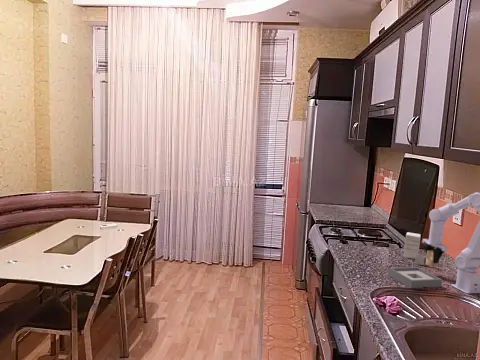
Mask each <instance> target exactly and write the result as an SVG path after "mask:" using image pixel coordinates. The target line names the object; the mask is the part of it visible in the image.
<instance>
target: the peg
mask: <svg viewBox="0 0 480 360" xmlns="http://www.w3.org/2000/svg"><path fill="white" fill-rule="evenodd" d="M433 258H434V254H433V250H427V256H426V258H425V265H426V266H429V267H430V268H438V267H439V264H440V262H438V263H434V262H433Z"/></svg>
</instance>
